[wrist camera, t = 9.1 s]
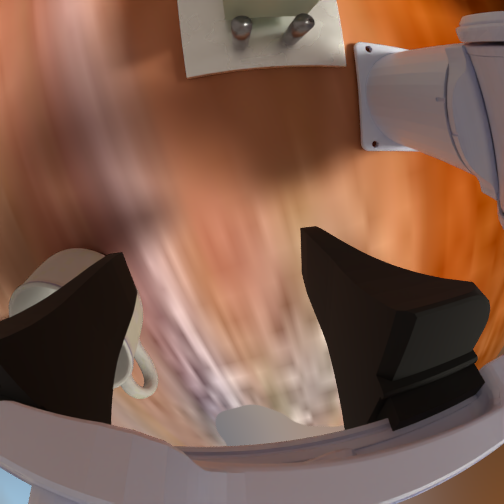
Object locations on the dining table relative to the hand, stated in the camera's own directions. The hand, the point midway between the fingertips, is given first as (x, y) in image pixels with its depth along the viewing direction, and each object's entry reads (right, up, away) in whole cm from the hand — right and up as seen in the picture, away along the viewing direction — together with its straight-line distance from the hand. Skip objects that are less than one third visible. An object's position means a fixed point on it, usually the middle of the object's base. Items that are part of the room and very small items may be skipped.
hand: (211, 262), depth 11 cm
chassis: (+1, +20, 0) cm, 20 cm away
